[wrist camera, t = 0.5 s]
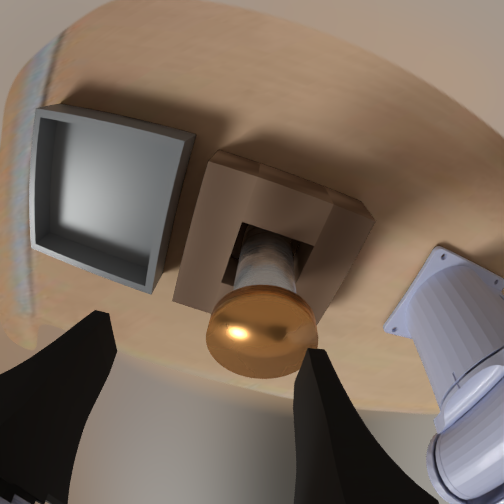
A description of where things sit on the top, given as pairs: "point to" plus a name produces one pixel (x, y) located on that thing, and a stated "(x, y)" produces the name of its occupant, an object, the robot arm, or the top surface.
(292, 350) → the pin
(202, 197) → the holder block
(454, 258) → the robot arm
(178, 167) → the tray
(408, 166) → the top surface
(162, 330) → the top surface
